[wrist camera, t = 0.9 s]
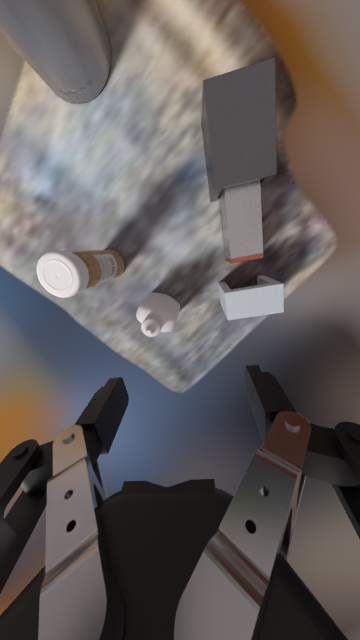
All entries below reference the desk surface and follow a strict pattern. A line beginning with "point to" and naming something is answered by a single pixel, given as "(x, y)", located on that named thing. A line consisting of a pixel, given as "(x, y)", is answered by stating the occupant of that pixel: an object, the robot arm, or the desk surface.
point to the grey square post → (242, 222)
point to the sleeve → (240, 127)
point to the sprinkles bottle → (77, 270)
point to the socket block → (252, 299)
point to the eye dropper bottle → (158, 314)
